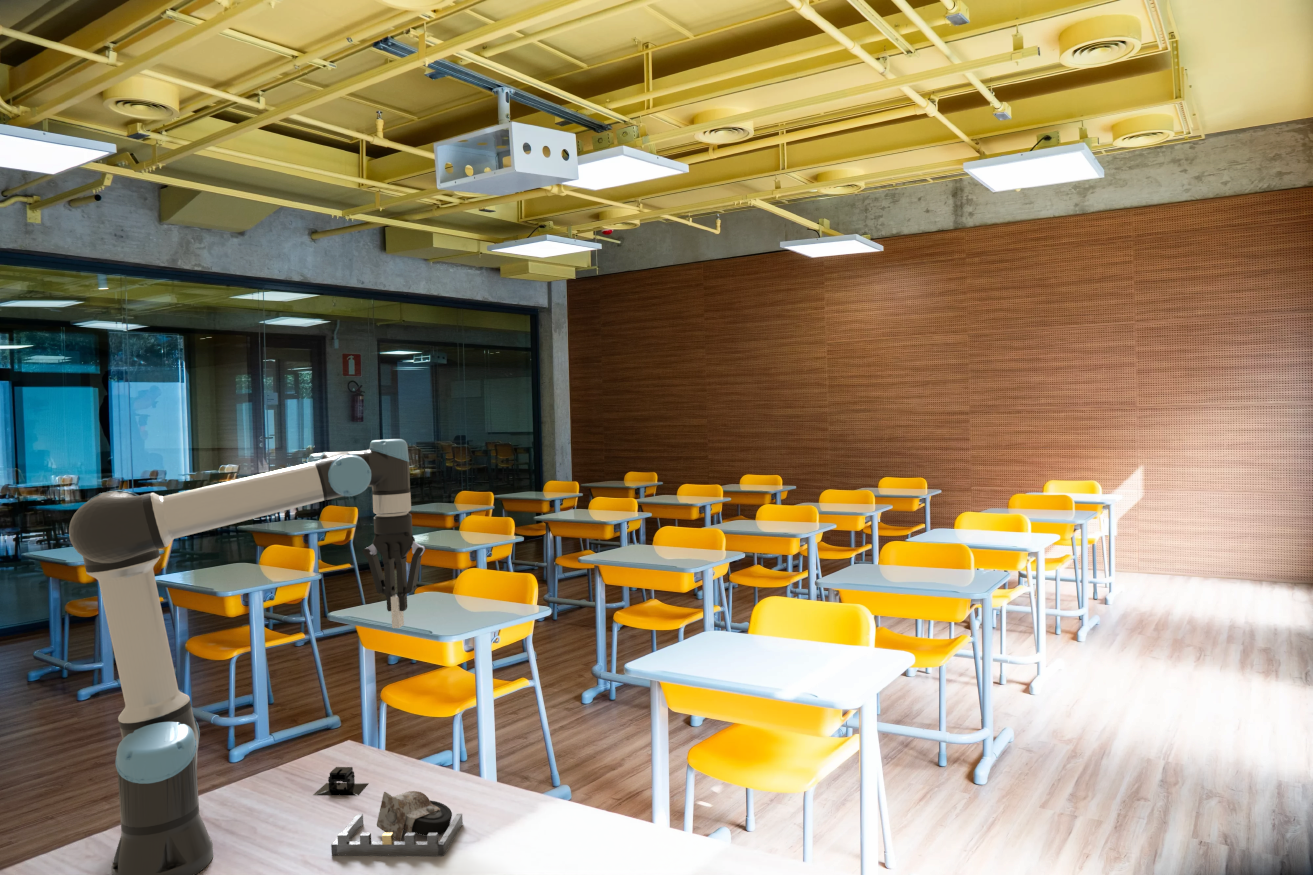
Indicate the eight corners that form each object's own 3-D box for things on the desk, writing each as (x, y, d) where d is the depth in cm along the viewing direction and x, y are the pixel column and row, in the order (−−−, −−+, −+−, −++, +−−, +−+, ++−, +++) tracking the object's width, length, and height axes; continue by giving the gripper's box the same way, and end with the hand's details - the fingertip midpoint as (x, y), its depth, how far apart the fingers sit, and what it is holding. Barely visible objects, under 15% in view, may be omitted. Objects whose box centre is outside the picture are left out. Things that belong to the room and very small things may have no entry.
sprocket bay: (331, 855, 148) (330, 835, 148) (358, 823, 159) (357, 805, 159) (443, 855, 147) (442, 835, 146) (462, 823, 158) (461, 804, 157)
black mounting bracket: (304, 799, 171) (303, 776, 171) (322, 783, 178) (321, 761, 178) (363, 799, 170) (362, 777, 170) (378, 783, 177) (377, 762, 177)
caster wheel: (456, 838, 158) (414, 855, 149) (415, 811, 164) (373, 826, 155) (463, 803, 157) (423, 818, 149) (422, 778, 163) (381, 791, 155)
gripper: (429, 510, 179) (434, 620, 180) (369, 512, 180) (374, 622, 181) (416, 515, 171) (422, 630, 172) (354, 516, 172) (360, 631, 173)
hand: (398, 626), depth 176 cm, fingers closed
